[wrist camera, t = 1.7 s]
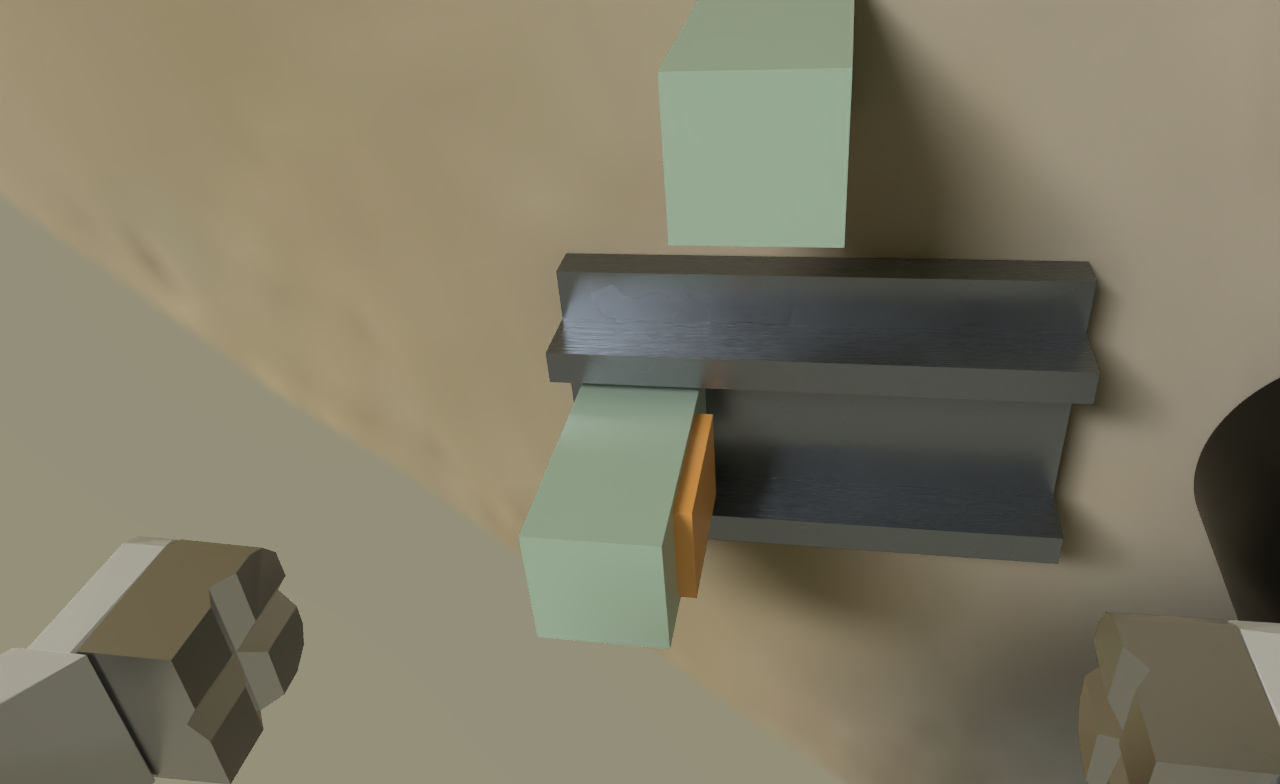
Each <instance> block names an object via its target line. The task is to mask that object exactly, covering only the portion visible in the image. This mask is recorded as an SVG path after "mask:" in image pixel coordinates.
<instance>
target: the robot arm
mask: <svg viewBox="0 0 1280 784" xmlns="http://www.w3.org/2000/svg"><path fill="white" fill-rule="evenodd" d="M284 577H285V573H284V571H283V568H282V566H281V564H280V561H279V559H278V557H277V554H276V552H273V551H270V550H267V549H264V548H258V547H248V546H239V545H230V544H220V543H210V542H201V541H191V540H172V539H163V538H153V537H144V536H139V537H136V538H134V539H131V540H129V541H127V542H124V543H123V544H122V545H121V546H120V547H119V548H118V549H117V550H116V551H115V553H114V554H113V555H112V556H111V557H110V558H109V559H108V560H107V561H106V562H105V564H104V565H103V566H102V567H101V568H100V569H99V570H98V571H97V572H96V573H95V575H94V576H93V577H92V578H91V579H90V580H89V581H88V582H87V583H86V584H85V586H84V587H83V588H82V589H81V590H80V591H79V592H78V593H77V594H76V595H75V596H74V598H73V599H72V600H71V601H70V602H69V603H68V604H67V605H66V606H65V607H64V609H63V610H62V611H61V612H60V613H59V614H58V615H57V616H56V617H55V618H54V620H53V621H52V622H51V623H50V624H49V625H48V626H47V627H46V628H45V630H44V631H43V632H42V633H41V634H40V635H39V636H38V637H37V638H36V639H35V640H34V641H33V643H32V644H31V645H30V646H29V647H28V648H16V647H14V648H12V649H10V650H8V651H6V652H4V653H2V654H0V784H153V783H154V781H155V779H154V778H153V777H160V778H171V779H181V780H191V781H202V782H212V783H222V784H231V783H232V781H233V779H234V777H235V776H236V774H237V773H238V771H239V769H240V767H241V766H242V764H243V763H244V761H245V759H246V758H247V756H248V754H249V753H250V751H251V749H252V748H253V746H254V744H255V743H256V741H257V739H258V738H259V736H260V734H261V733H262V731H263V724H262V718H261V711H260V710H262V709H263V708H265V707H266V706H267V705H269V704H271V703H272V702H273V701H275V700H276V699H278V698H279V697H281V696H282V695H284V694H285V692H286V690H287V689H288V687H289V685H290V683H291V682H292V680H293V678H294V676H295V674H296V673H297V670H298V666H299V662H300V658H301V654H302V650H303V645H304V639H303V623H302V620H301V617H300V614H299V611H298V609H297V606H296V605H295V604H294V603H292V602H291V601H290V600H289V599H288V598H287V597H286V596H285V595H283V594H282V593H281V592H280V591H279V590H278V588H279V587H280V585H281V583H282V581H283V579H284ZM1094 646H1095V650H1096V655H1097V659H1098V663H1099V667H1097V668H1096V669H1094V670H1093V671H1091V672H1090V673H1088V674H1087V675H1085V677H1084V682H1083V687H1082V692H1081V696H1080V701H1079V723H1078V734H1079V744H1080V753H1081V759H1082V764H1083V769H1084V774H1085V779H1086V781H1087V782H1088V783H1089V784H1280V623H1267V622H1252V621H1237V620H1229V621H1227V622H1226V621H1224V620H1219V619H1204V618H1189V617H1175V616H1160V615H1145V614H1130V613H1116V612H1105V613H1104V615H1103V616H1102V618H1101V619H1100V621H1099V623H1098V627H1097V631H1096V634H1095V638H1094Z"/></svg>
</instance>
